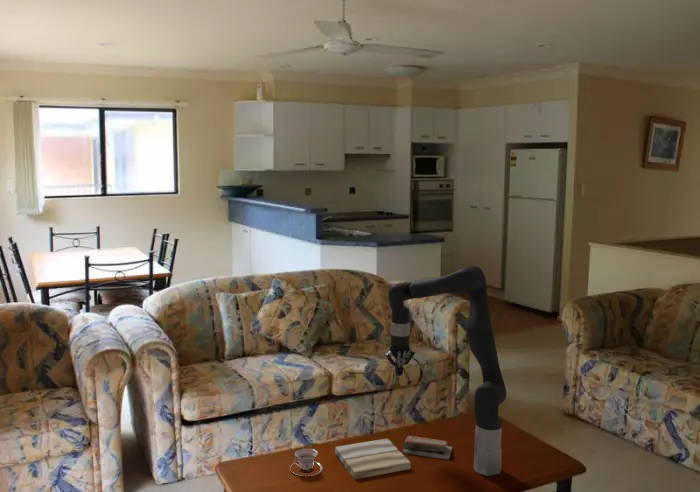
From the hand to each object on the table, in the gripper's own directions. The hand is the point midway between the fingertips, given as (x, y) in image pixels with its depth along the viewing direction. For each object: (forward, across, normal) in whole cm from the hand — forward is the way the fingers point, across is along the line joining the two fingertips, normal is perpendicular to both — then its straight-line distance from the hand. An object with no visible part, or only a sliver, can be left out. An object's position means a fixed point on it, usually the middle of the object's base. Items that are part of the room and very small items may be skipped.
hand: (399, 375), depth 268 cm
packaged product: (+27, +6, -15) cm, 31 cm away
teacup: (+27, -43, -12) cm, 52 cm away
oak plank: (+26, -18, -20) cm, 38 cm away
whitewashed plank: (+26, -18, -10) cm, 33 cm away
